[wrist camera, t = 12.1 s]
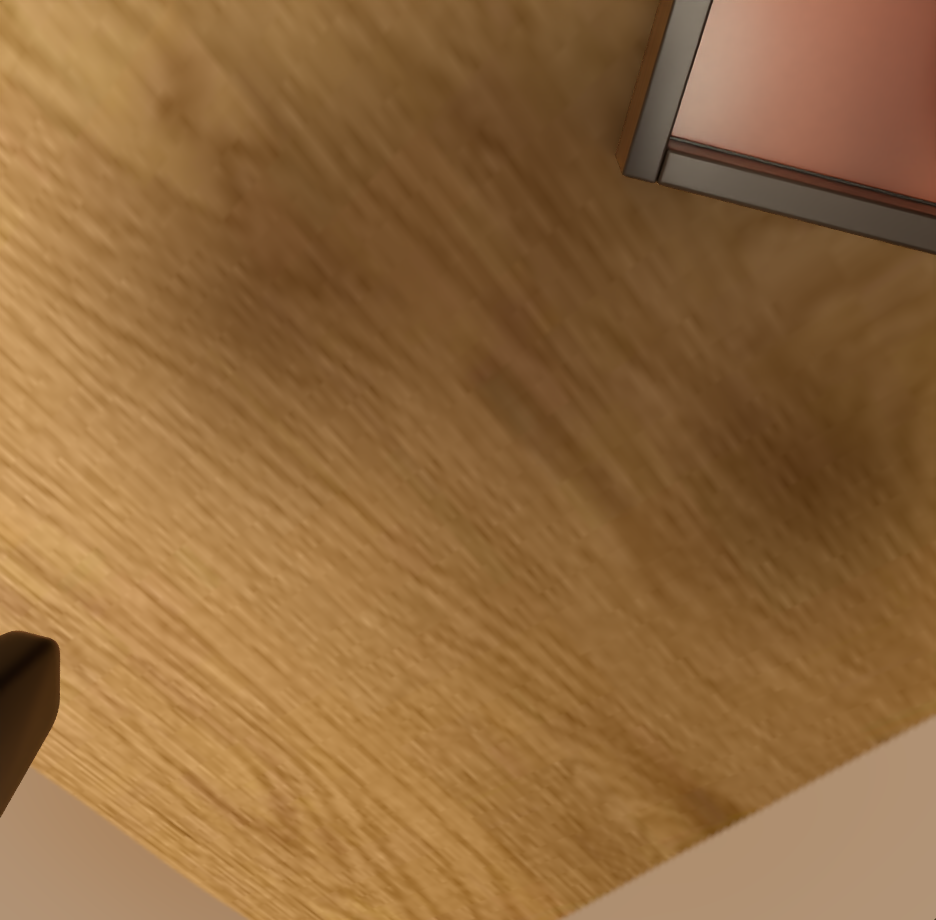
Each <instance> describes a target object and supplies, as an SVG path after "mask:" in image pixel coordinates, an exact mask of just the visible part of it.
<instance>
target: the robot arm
mask: <svg viewBox="0 0 936 920" xmlns="http://www.w3.org/2000/svg"><path fill="white" fill-rule="evenodd" d="M59 702H60V650H59V646H58V644H57V642H56V641H54V640H53V639H51V638H47V637H43V636H39V635H36V634H32V633H28V632H24V631H11V632H8V633H5V634H3V635H1V636H0V817H1V815H2V814H3V812H4V810H5V808H6V807H7V805H8V803H9V802H10V800H11V798H12V796H13V795H14V793H15V791H16V789H17V787H18V786H19V784H20V782H21V781H22V779H23V777H24V775H25V774H26V772H27V770H28V768H29V767H30V765H31V763H32V761H33V760H34V758H35V756H36V754H37V753H38V751H39V749H40V747H41V746H42V744H43V742H44V740H45V738H46V737H47V735H48V733H49V731H50V730H51V728H52V726H53V724H54V721H55V719H56V716H57V713H58V709H59ZM935 920H936V919H935Z"/></svg>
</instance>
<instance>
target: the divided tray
mask: <svg viewBox="0 0 936 920" xmlns="http://www.w3.org/2000/svg"><path fill="white" fill-rule="evenodd" d="M615 156H616V159H617V161H618V164H619V167H620V169H621V172H622V175H624V176H626V177H630V178H634V179H638V180H642V181H646V182H650V183H655V182H657V183H658V184H659V185H662V186H666V187H670V188H674V189H678V190H682V191H686V192H690V193H694V194H698V195H701V196H705V197H709V198H713V199H717V200H721V201H725V202H729V203H733V204H737V205H741V206H745V207H749V208H753V209H757V210H761V211H764V212H768V213H772V214H776V215H780V216H784V217H788V218H792V219H796V220H800V221H804V222H808V223H812V224H816V225H820V226H824V227H827V228H831V229H835V230H839V231H843V232H847V233H851V234H855V235H859V236H863V237H867V238H871V239H875V240H879V241H883V242H886V243H890V244H894V245H898V246H902V247H906V248H910V249H914V250H918V251H922V252H926V253H930V254H934V255H936V0H660V2H659V5H658V9H657V12H656V16H655V19H654V22H653V26H652V29H651V33H650V36H649V40H648V43H647V47H646V50H645V54H644V57H643V61H642V64H641V67H640V71H639V74H638V78H637V81H636V85H635V88H634V92H633V95H632V99H631V102H630V105H629V109H628V112H627V116H626V119H625V123H624V126H623V130H622V133H621V137H620V140H619V144H618V147H617V150H616V154H615Z"/></svg>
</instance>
